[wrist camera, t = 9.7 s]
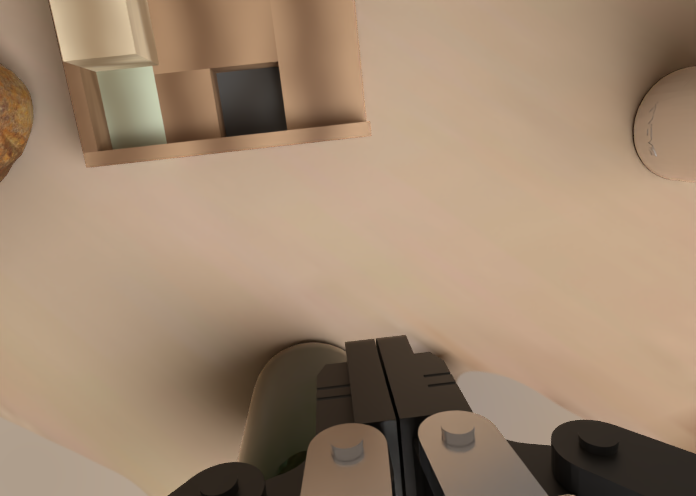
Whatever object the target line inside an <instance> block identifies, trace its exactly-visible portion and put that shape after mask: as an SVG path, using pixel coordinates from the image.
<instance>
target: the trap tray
mask: <svg viewBox="0 0 696 496" xmlns="http://www.w3.org/2000/svg"><path fill="white" fill-rule="evenodd" d="M48 1H49V0H48ZM147 2H148V7H149V13H150V18H151V23H152V29H153V34H154V39H155V45H156V50H157V56H158V61H159V65H156V66H147V67H137V68H128V69H118V70H109V71H99V72H95V71H92V70H89V69H86V68H82V67H79V66H76V65H73V64H70V63H67V62H64V61H63V58H62V54H61V49H60V45H59V40H58V36H57V32H56V27H55V23H54V19H53V14H52V10H51V6H50V1H49V6H50V10H51V14H52V19H53V23H54V28H55V32H56V36H57V41H58V45H59V49H60V54H61V58H62V63H63V67H64V71H65V76H66V80H67V84H68V89H69V93H70V97H71V102H72V106H73V111H74V115H75V119H76V124H77V128H78V132H79V137H80V141H81V146H82V150H83V154H84V159H85V163H86V167H87V168H88V167H97V166H106V165H116V164H125V163H134V162H142V161H151V160H160V159H169V158H178V157H187V156H196V155H205V154H214V153H223V152H232V151H241V150H250V149H258V148H267V147H276V146H285V145H294V144H303V143H312V142H321V141H330V140H339V139H348V138H357V137H365V136H371V126H370V121H367V122H366V111H365V101H364V91H363V81H362V70H361V60H360V50H359V40H358V29H357V19H356V9H355V0H147Z"/></svg>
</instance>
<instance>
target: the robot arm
mask: <svg viewBox="0 0 696 496" xmlns="http://www.w3.org/2000/svg"><path fill="white" fill-rule="evenodd" d="M634 143H635V146H636V149H637V153H638V155H639V157H640V158H641V160H642V162H643V163H644V164H645V165H646V167H647V168H648V169H649V170H650V171H652V172H653V173H655V174H656V175H658V176H660V177H663V178H666V179H669V180H678V181H687V182H696V66H692V67H687V68H683V69H680V70H677V71H674V72H672V73H670V74H668V75H667V76H665V77H663V78H662V79H661V80H659V81H658V82H657V83H656V84H655V85H654V86H653V87H652V88H651V89H650V90H649V92H648V93H647V94H646V95H645V97H644V99H643V101H642V102H641V104H640V106H639V109H638V112H637V115H636V118H635V124H634ZM345 347H346V357H347V362H342V363H334V364H326V365H325V366H324V367H323V368H322V370H321V371H320V372H319V374H318V375H317V393H316V399H317V401H316V436H315V437H314V438H313V440H312V441H311V442H310V444H309V446H308V450H307V456H306V460H305V461H304V462H303V463H302V464H300V465H299V466H297V467H296V468H294V469H292V470H290V471H288V472H286V473H284V474H281V475H278V476H276V477H273V478H270V479H267V480H264V476H263V474H262V472H261V471H260V470H259V469H258V468H257V467H255V466H253V465H251V464H248V463H242V462H230V463H223V464H219V465H216V466H213V467H210V468H208V469H205V470H204V471H202V472H200V473H198V474H197V475H195V476H194V477H192V478H191V479H190V480H188V481H187V482H186V483H184V484H183V485H182V486H180V487H179V488H178V489H176V490H175V491H174V492H172V493H171V494H170V495H168V496H696V454H694V453H692V452H689V451H686V450H683V449H680V448H678V447H675V446H672V445H669V444H666V443H663V442H661V441H658V440H655V439H652V438H649V437H647V436H644V435H641V434H638V433H635V432H632V431H630V430H627V429H624V428H621V427H618V426H616V425H612V424H609V423H605V422H601V421H594V420H575V421H570V422H566V423H563V424H561V425H559V426H558V427H557V428H556V429H555V430H554V431H553V433H552V436H551V446H549V445H537V444H526V443H518V442H513V441H509V440H506V439H505V438H504V437H503V435H502V434H501V433H500V431H499V430H498V429H497V427H496V426H495V425H494V424H493V423H492V422H491V421H490V420H488V419H487V418H485V417H483V416H481V415H478V414H475V413H473V412H472V410H471V408H470V406H469V405H468V403H467V401H466V399H465V398H464V396H463V394H462V392H461V390H460V389H459V387H458V385H457V384H456V382H455V380H454V378H453V376H452V374H450V371H449V369H448V367H447V366H446V364H445V362H444V361H443V360H442V359H440V358H439V357H437V356H435V355H434V354H432V353H431V352H426V353H417V354H414V353H413V351H412V348H411V346H410V344H409V342H408V339H407V337H406V335H401V336H393V337H384V338H376V344H375V341H374V339H368V340H359V341H351V342H345Z"/></svg>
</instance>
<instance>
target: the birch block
mask: <svg viewBox="0 0 696 496" xmlns="http://www.w3.org/2000/svg"><path fill="white" fill-rule="evenodd" d="M49 1H50V6H51V10H52V14H53V19H54V23H55V27H56V32H57V36H58V40H59V45H60V49H61V54H62V58H63V61H64V62H67V63H70V64H73V65H76V66H79V67H82V68H86V69H89V70H92V71H95V72H99V71H109V70H118V69H128V68H137V67H147V66H156V65H159V61H158V56H157V50H156V45H155V39H154V34H153V29H152V23H151V18H150V13H149V7H148V2H147V0H49Z"/></svg>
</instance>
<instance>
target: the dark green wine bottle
mask: <svg viewBox="0 0 696 496" xmlns="http://www.w3.org/2000/svg"><path fill="white" fill-rule="evenodd" d="M342 362H347V357H346V351H344V350H342V349H341V348H338V347H336V346H333V345H330V344H325V343H319V342H311V343H302V344H297V345H294V346H291V347H289V348H286V349H284V350H282V351H281V352H279V353H278V354H276V355H275V356H274V357H273V358H272V359H270V360H269V361H268V362H267V363H266V365H265V366H264V368H263V369H262V371H261V372H260V374H259V377H258V379H257V382H256V384H255V387H254V390H253V394H252V398H251V402H250V406H249V411H248V415H247V419H246V424H245V428H244V433H243V437H242V441H241V446H240V450H239V455H238V460H237V462H242V463H248V464H251V465H253V466H255V467H257V468H258V469H259V470H260V471H261V472H262V474H263V476H264V480H267V479H270V478H273V477H276V476H278V475H281V474H284V473H286V472H288V471H290V470H292V469H294V468H296V467H297V466H299V465H300V464H302V463H303V462H304V461H305V460H306V456H307V450H308V446H309V444H310V442H311V441H312V440H313V438H314V437H315V436H316V401H317V399H316V393H317V375H318V374H319V372H320V371H321V370H322V368H323V367H324V366H325V365H326V364H334V363H342Z"/></svg>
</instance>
